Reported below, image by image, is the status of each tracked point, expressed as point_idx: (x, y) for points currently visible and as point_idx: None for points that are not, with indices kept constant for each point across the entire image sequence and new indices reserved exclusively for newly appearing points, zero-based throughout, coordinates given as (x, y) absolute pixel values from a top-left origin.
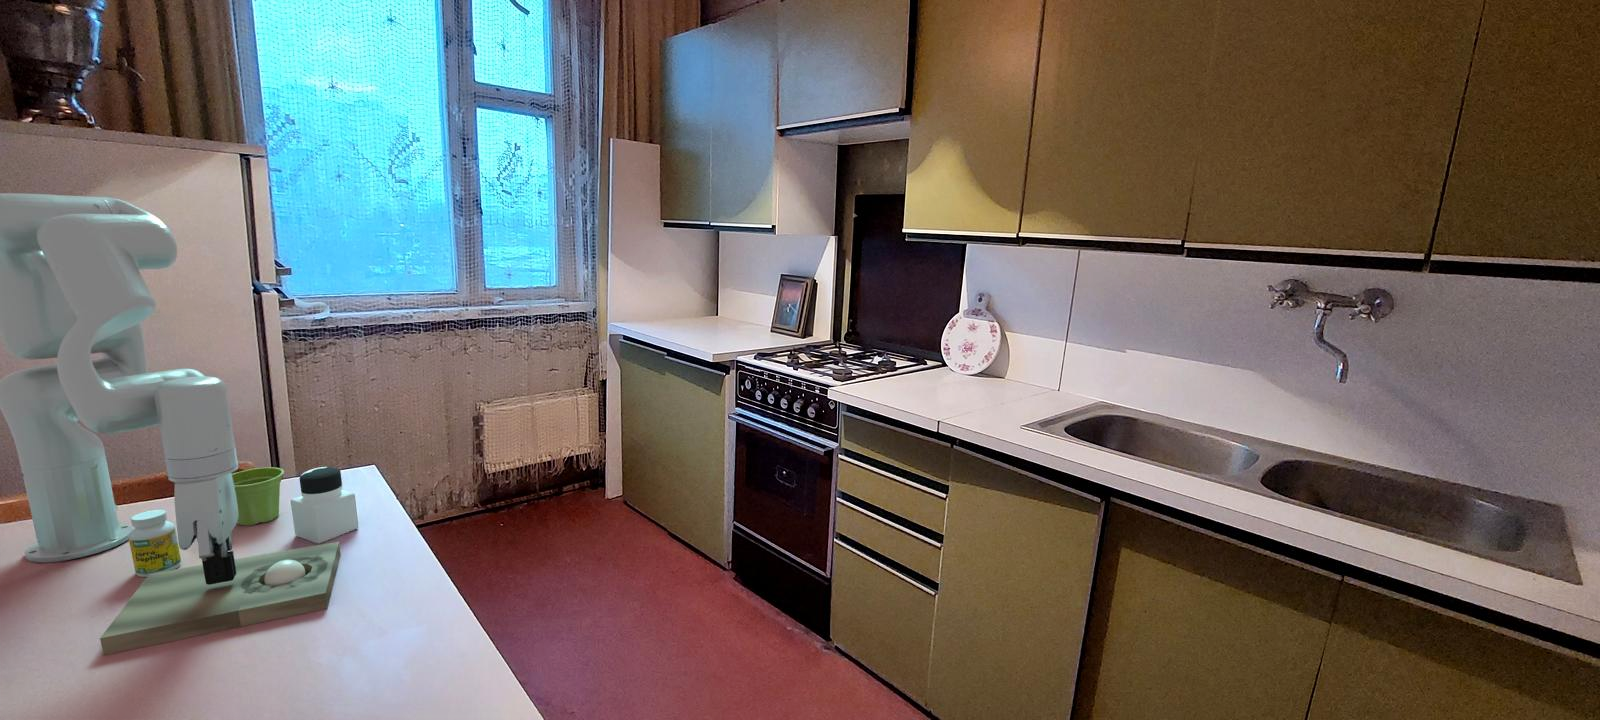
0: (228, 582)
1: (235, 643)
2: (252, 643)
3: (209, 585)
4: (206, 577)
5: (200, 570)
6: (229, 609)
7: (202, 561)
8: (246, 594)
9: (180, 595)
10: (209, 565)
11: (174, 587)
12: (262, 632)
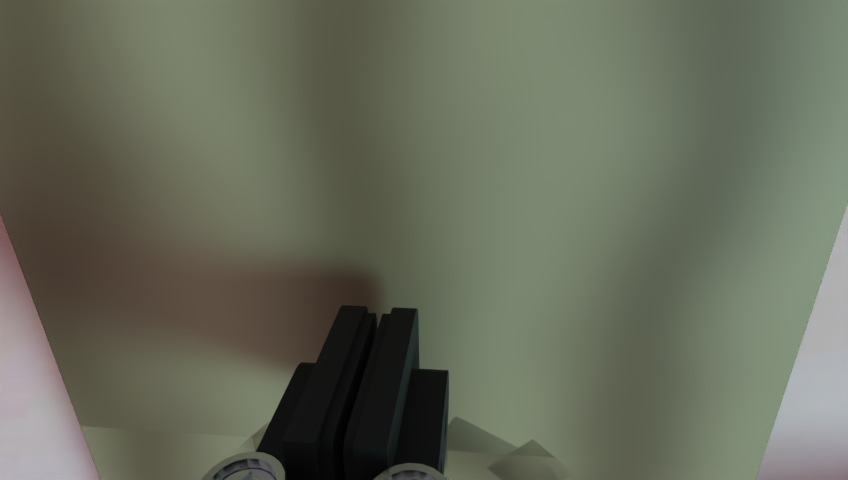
0: (421, 357)
1: (9, 366)
2: (2, 410)
3: (429, 275)
4: (333, 336)
5: (739, 179)
6: (94, 396)
7: (288, 430)
8: (237, 437)
9: (352, 146)
10: (262, 446)
11: (506, 76)
12: (72, 429)
